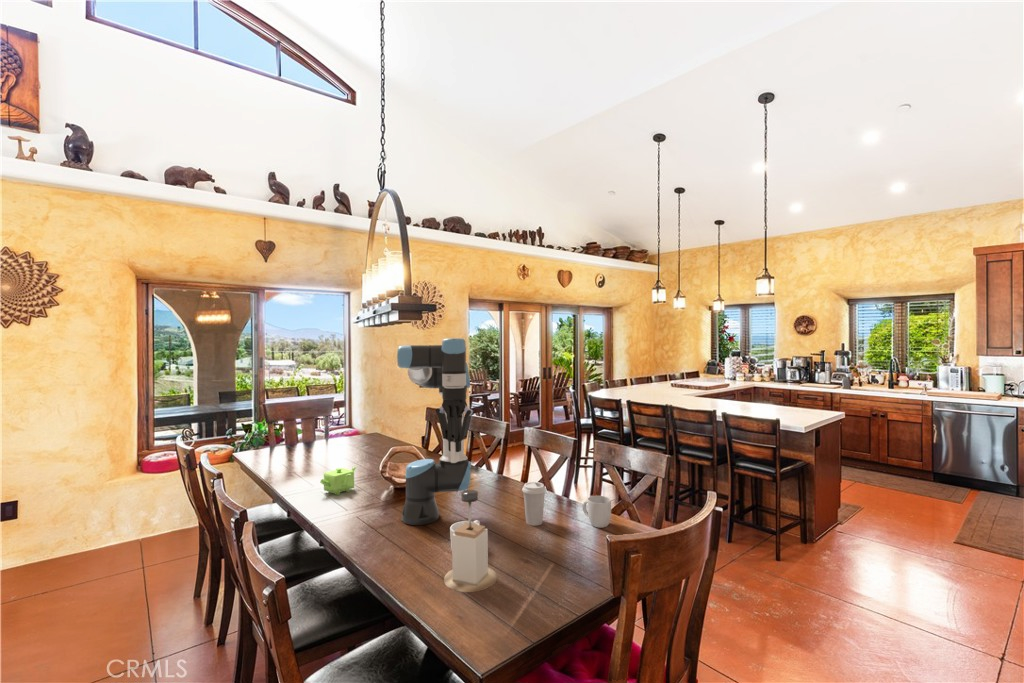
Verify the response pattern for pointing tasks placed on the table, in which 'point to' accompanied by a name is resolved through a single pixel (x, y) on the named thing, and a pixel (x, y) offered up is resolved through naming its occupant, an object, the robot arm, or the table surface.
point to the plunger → (469, 503)
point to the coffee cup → (534, 502)
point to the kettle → (338, 480)
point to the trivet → (461, 587)
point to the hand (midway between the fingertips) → (455, 461)
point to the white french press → (470, 554)
